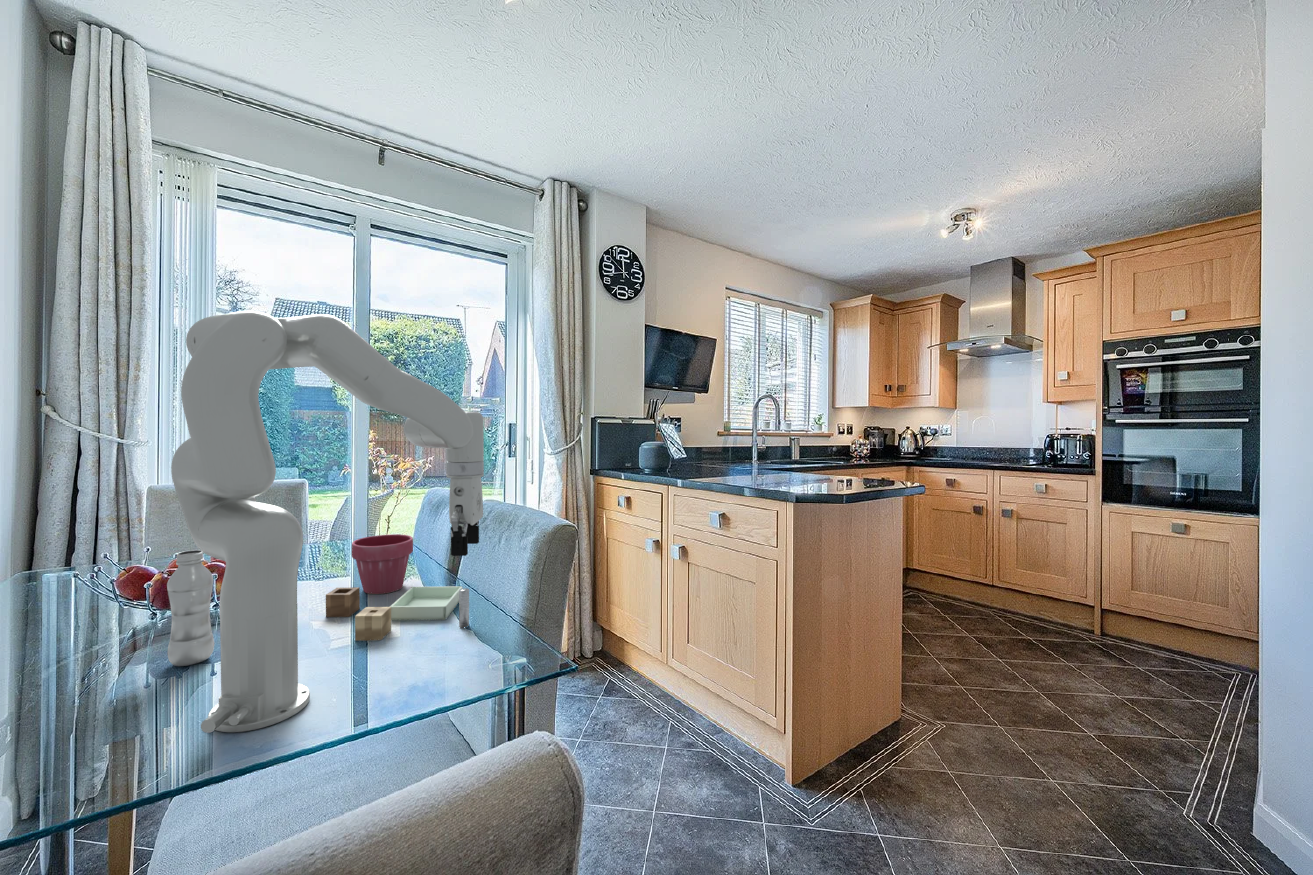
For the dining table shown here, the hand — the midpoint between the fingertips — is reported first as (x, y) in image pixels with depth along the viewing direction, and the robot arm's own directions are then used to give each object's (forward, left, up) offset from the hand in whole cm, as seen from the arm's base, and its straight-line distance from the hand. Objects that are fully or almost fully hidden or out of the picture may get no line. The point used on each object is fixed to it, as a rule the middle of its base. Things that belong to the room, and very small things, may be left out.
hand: (465, 549), depth 117 cm
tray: (+11, +11, -17) cm, 23 cm away
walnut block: (+9, +29, -17) cm, 35 cm away
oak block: (-4, +17, -17) cm, 24 cm away
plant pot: (+26, +27, -17) cm, 41 cm away
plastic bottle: (-15, +44, -17) cm, 50 cm away
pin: (0, 0, -17) cm, 17 cm away
